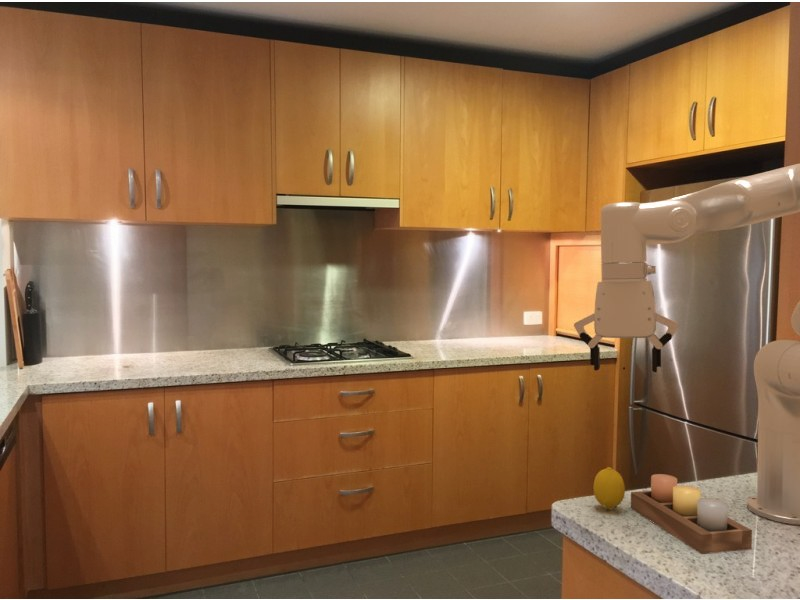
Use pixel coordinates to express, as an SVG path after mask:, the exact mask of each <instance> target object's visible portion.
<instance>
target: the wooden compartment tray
mask: <svg viewBox="0 0 800 600" xmlns="http://www.w3.org/2000/svg"><path fill="white" fill-rule="evenodd" d="M630 509H632V510H633V511H635V512H636V513H638V514H639V513H640V515H641V516H642V515H643V518H646V519H647V518H648V520H649V521H650V520H651V521H650V522H651V523H653V522H654V523H653V524H655V525H657V526H658V527H659V528H661V529H663V530H664V531H665V532H667V533H669V534H670V535H672V536H673V537H675V538H676V539H678V540H680V541H681V542H683V543H685V544H686V545H687V546H689V547H691V548H692V549H694V550H696V551H697V552H698V551H699V552H698V553H699V554H702V555H703V554H711V553H710V552H713V553H721V551H723V552H731V551H742V550H750V549H752V548H753V547H752V546H753V545H752V542H753V538H752V537H753V529H751V528H749V527H746V526H745V525H743V524H741V523H739V522H737V521H735V520H733V519H732V518H730V517H728V516H727V530H726V531H715V532H708V531H706V530H705V529H703V528H701V527H700V526H698V525H697V516H686V517H682V516H681V515H679V514H677V513H676V512H674V511H673V502H669V503H659V502H657V501H655V500H653V499H652V498H651V490H643V491H639V490H638V491H631V492H630Z"/></svg>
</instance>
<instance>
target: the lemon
mask: <svg viewBox="0 0 800 600" xmlns="http://www.w3.org/2000/svg"><path fill="white" fill-rule="evenodd" d="M592 487H593V494H594V495H593V496H594V497H595V499H596V501H597V502H598V503H599V504H600V505H601V506H602V507H605V509H606V510H608V511H611V510H612V509H613V508H616V507H618V506H619V505H620V504H621V503H622V502H623V500H624V497H625V494H626V493H625V492H626V490H625V489H626V488H625V482H624V479H623V476H622V475H621V473H619V472H618V471H617V470H615V469H613V468H612V467H610V466H608V467H606V468H604V469H601V470H600V471H599V472H597V473H596V475H595V478H594V481H593V486H592Z"/></svg>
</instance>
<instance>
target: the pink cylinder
mask: <svg viewBox="0 0 800 600" xmlns="http://www.w3.org/2000/svg"><path fill="white" fill-rule="evenodd" d="M674 486H678V478H677V477H675V476H673V475H669V474H666V473H665V474H664V473H663V474H662V473H658V474H657V473H655V474H652V475H650V491H651V498H652V499H653V500H655V501H657V502H659V503H669V502H673V487H674Z"/></svg>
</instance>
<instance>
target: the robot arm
mask: <svg viewBox="0 0 800 600" xmlns="http://www.w3.org/2000/svg"><path fill="white" fill-rule="evenodd" d="M796 213H800V163H795V164H792V165H788V166H784V167H780V168H776V169H772V170H769V171H765V172H760V173H755V174H752V175H748V176H744V177H740V178H736V179H731V180H728V181H725V182H721V183H719V184H716V185H713V186H710V187H707V188H703V189H701V190H698V191H694V192H691V193H688V194H684V195H680V196H675V197H672V198H668V199H664V200H658V201H651V202H650V201H649V202H638V201H636V202H635V201H621V202H619V201H618V202H613V203H608V204H605V205H604V206H603V207H602V208H601V211H600V252H601V253H600V255H601V258H600V261H601V264H600V265H601V266H600V268H601V271H600V272H601V281H598V282H597V285H596V292H595V299H594V313H592V314H590V315H588V316H586V317H583V318H582V319H580V320H578V321H575V323H573V327H574V329H575V331H576V333H577V334H578V336H579V338H580V339H581V340H582V342H584V343H585V344H586V345H587V346H588V348H589V349H590V351H589V354H590V355H589V358H590V361H589V362H590V366H593V370H594V371H599V370H600V369H601V366H600V365H601V357H600V356H601V355H600V354H601V352H600V351H601V350H600V347H599V343H600V342H601V340H602V339H603V338H604V339H605V338H608V339H646V338H647V340H648V341H649V342H650V343H651V344H652V347H653V348H652V349H651V367H652V368H651V371H652V372H653V373H657V372H658V368H662V349H663V348H664V346H665V345H667V343H669V342H670V341H671V340H672V339H673V337H674V334H676V331H677V329H678V327H679V323H678V322H677V321H675V320H672V319H671V318H668V317H665V316H664V315H661V314H660V313H657V312H656V303H655V302H656V301H655V291H654V287H653V283H652V280H648V276H650V275H652V274H654V275H655V274H656V273H657V272H656V265H652V264H650V265H649V264H647V261H648V260H647V259H648V257H647V246H654V245H663V244H674V243H679V242H682V241H685V240H686V239H688V238H689V237H690V236H692V235H694V234H699V233H700V234H701V233H707V232H712V231H713V232H714V231H722V230H723V231H724V230H733V229H737V228H742V227H746V226H747V227H748V226H750V225H754V224H755V225H756V224H758V223H761V222H765V221H770V220H773V219H778V218H780V217H781V218H782V217H785V216H789V215H793V214H796ZM591 323H594V324H593V325H594V326H593V329H594V333H595V335H594V336H593V337H591V335H589V333H587V331H586V329H585V326H588V325H589V324H591ZM657 323H659V324H662V325H663V326H665V327H667V330H666V332H665V333H664V334H663V335H662V336H661V337H660V338H659V337H658V336H657V335H656V334H655V333H656V329H657ZM790 324H791V327H792V330H793V331H794V332H795V334H797V335H798V336H799V337H800V300H799V301H798V302H797V304H796V306H795V307H794V310H793V312H792V315H791V318H790ZM753 375H754V380H755V386H756V390H757V391H756V392H757V399H758V401H757V402H758V403H757V404H758V426H757V427H758V428H757V469H756V470H757V472H756V473H757V478H756V481H757V482H756V495H754V496H751V497H749V498H748V499H747V502H746V503H747V508H748V510H749V511H751V512H752V513H754V514H756V515H757V516H760V517H762V518H763V519H764V518H765V519H767V520H771V521H775V522H779V523H784V524H791V525H800V341H799V340H792V339H780V340H779V339H778V340H773V341H770V342H768V343H766V344H765V345H762V347H761V348H760V349H759V350H758V352H757V353H756V354H755V358H754V361H753Z"/></svg>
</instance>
